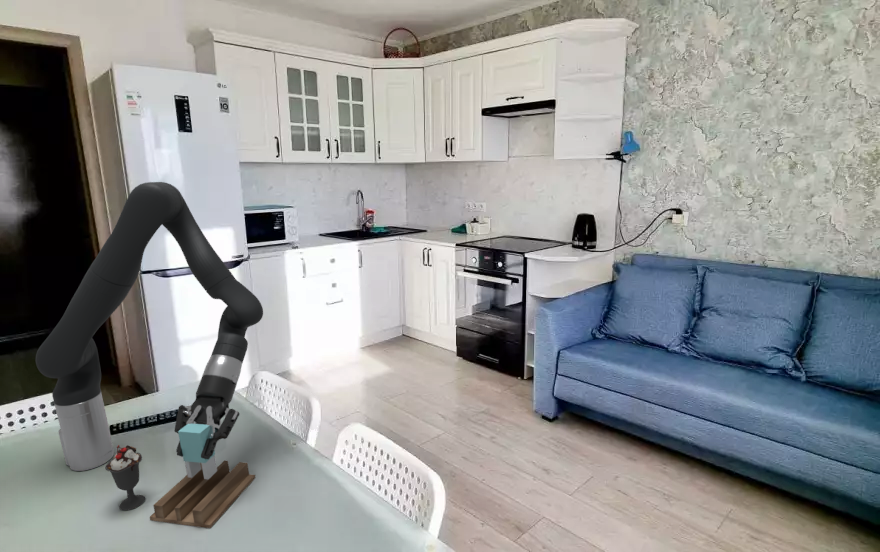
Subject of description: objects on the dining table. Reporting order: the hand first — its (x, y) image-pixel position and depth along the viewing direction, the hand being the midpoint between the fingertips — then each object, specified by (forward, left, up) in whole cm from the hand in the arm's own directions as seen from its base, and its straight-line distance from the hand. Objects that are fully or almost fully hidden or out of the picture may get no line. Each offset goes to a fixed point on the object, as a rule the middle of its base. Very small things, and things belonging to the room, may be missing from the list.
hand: (192, 456), depth 103 cm
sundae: (-15, -2, -11) cm, 19 cm away
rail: (0, +2, -11) cm, 11 cm away
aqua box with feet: (0, +2, -5) cm, 6 cm away
